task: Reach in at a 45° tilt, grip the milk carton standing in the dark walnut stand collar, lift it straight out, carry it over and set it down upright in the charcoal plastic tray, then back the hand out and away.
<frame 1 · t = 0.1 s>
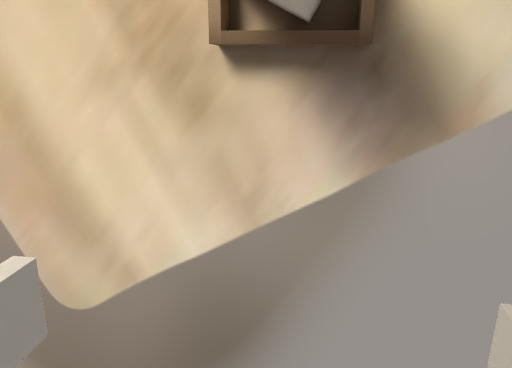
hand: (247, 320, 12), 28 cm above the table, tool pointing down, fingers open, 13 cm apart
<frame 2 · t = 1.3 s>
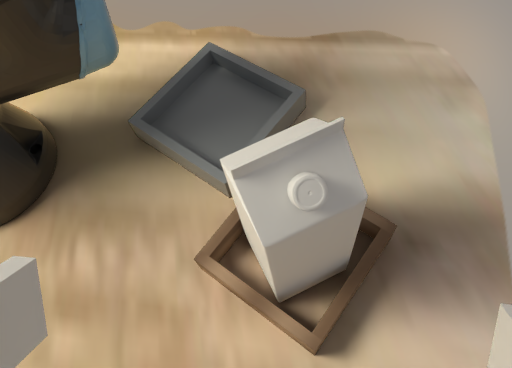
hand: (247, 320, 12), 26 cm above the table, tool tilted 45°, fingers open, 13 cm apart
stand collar: (295, 253, 40), on the table
tray: (221, 122, 48), on the table
milk carton: (295, 253, 40), resting in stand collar
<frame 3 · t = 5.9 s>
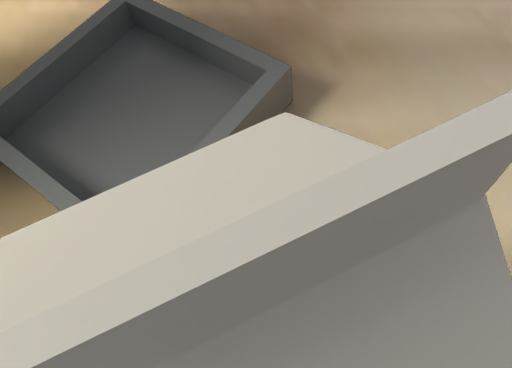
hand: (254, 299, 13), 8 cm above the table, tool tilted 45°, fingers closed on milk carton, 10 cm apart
tray: (140, 127, 27), on the table
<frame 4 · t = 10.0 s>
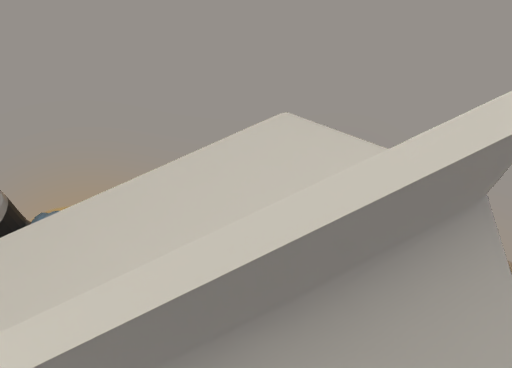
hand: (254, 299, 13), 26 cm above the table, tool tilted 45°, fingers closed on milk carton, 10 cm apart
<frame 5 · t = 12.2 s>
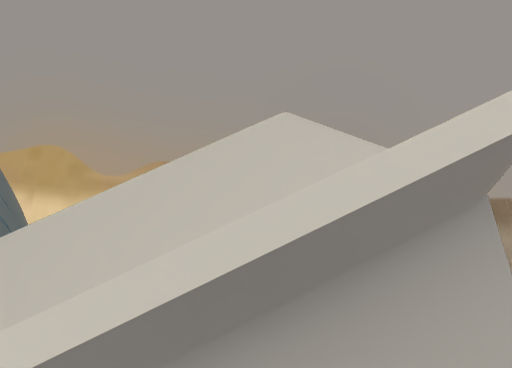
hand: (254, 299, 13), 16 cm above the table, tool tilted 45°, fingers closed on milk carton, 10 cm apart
when the fingers open (11 cm above the table, at t = 14.3 s): milk carton drops 2 cm, resting on tray.
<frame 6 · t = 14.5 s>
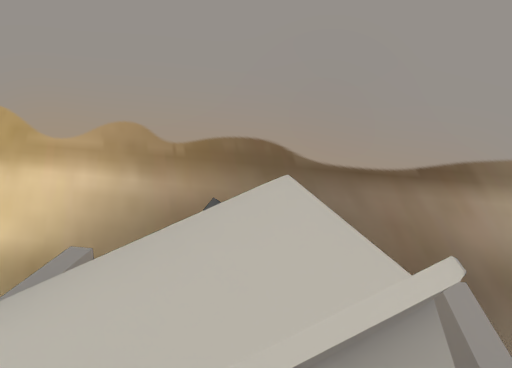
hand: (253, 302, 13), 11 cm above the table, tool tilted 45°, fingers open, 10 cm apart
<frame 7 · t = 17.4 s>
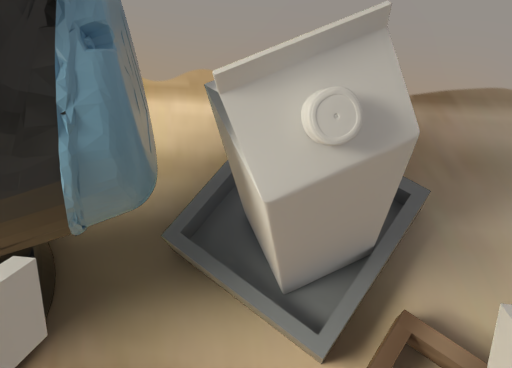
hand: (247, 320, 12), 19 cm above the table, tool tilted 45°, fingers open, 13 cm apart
tray: (295, 229, 33), on the table
milk carton: (305, 234, 32), point 1 cm above the table, touching tray
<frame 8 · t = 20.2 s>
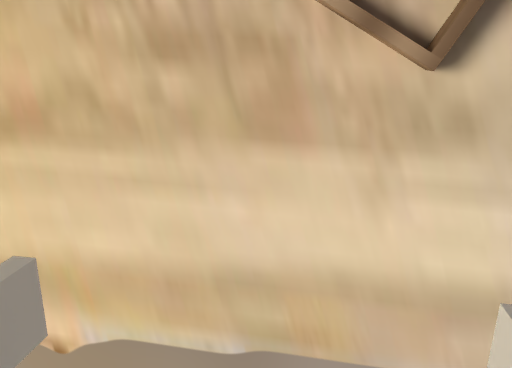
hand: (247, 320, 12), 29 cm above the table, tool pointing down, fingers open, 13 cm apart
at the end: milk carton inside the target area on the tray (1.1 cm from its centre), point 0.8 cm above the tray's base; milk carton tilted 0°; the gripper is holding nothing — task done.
